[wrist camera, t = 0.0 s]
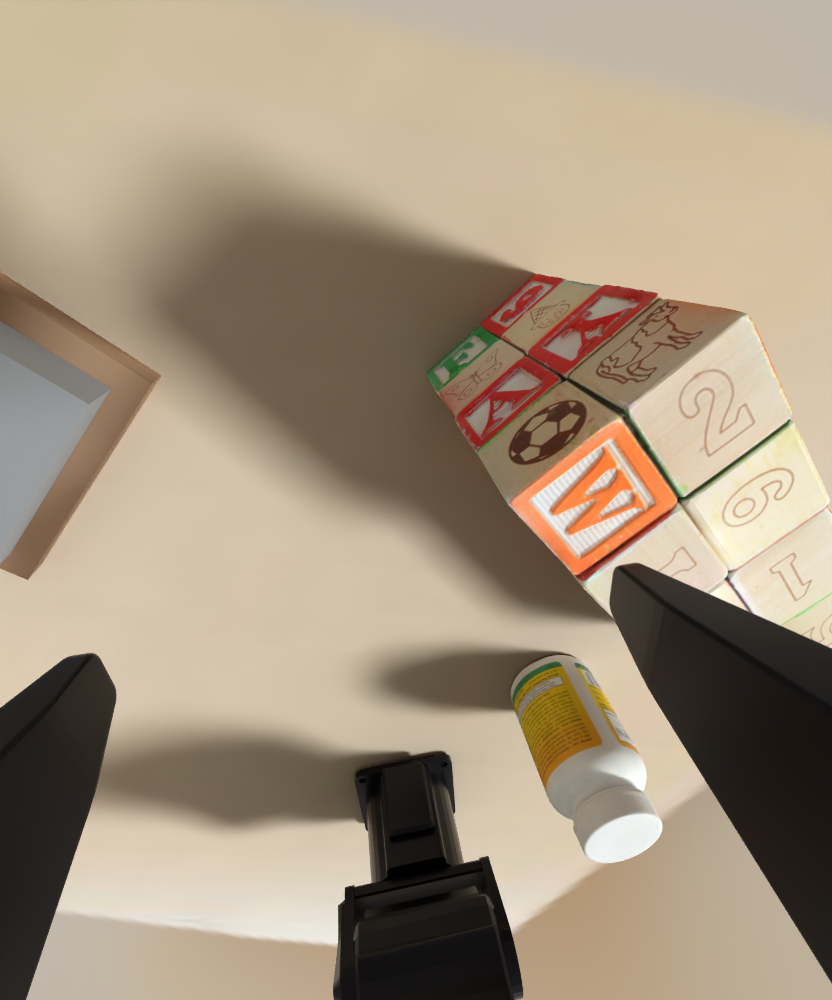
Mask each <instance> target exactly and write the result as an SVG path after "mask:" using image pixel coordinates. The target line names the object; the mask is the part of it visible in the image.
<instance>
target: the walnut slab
mask: <svg viewBox="0 0 832 1000" xmlns="http://www.w3.org/2000/svg"><path fill="white" fill-rule="evenodd" d="M0 321H1V322H3V323H4V324H6V325H8V326H9V327H11V328H13V329H14V330H16V331H18V332H19V333H21V334H22V335H24V336H26V337H27V338H29V339H31V340H32V341H34V342H36V343H37V344H39V345H40V346H42V347H44V348H45V349H47V350H49V351H50V352H52V353H54V354H55V355H57V356H59V357H60V358H62V359H63V360H65V361H67V362H68V363H70V364H72V365H73V366H75V367H77V368H78V369H80V370H81V371H83V372H85V373H86V374H88V375H90V376H91V377H93V378H95V379H96V380H98V381H99V382H101V383H103V384H104V385H106V386H108V387H109V388H111V390H110V392H109V393H108V395H107V397H106V398H105V400H104V402H103V403H102V405H101V406H100V408H99V410H98V411H97V413H96V415H95V416H94V418H93V420H92V421H91V423H90V424H89V426H88V428H87V429H86V431H85V433H84V434H83V436H82V438H81V439H80V441H79V443H78V444H77V446H76V447H75V449H74V451H73V452H72V454H71V456H70V457H69V459H68V461H67V462H66V464H65V465H64V467H63V469H62V470H61V472H60V474H59V475H58V477H57V479H56V480H55V482H54V483H53V485H52V487H51V488H50V490H49V492H48V493H47V495H46V497H45V498H44V500H43V501H42V503H41V505H40V506H39V508H38V510H37V511H36V513H35V515H34V516H33V518H32V519H31V521H30V523H29V524H28V526H27V528H26V529H25V531H24V533H23V534H22V536H21V537H20V539H19V541H18V542H17V544H16V546H15V547H14V549H13V551H12V552H11V554H10V555H9V556H8V557H7V558H6V559H5V560H4V561H3V562H2V563H1V564H0V568H1V569H3V570H5V571H8V572H10V573H13V574H15V575H17V576H20V577H22V578H24V579H27V580H28V579H29V578H30V577H31V575H32V574H33V573H34V572H35V571H36V570H37V569H38V567H39V566H40V565H41V564H42V563H43V561H44V559H45V558H46V556H47V555H48V553H49V552H50V550H51V548H52V547H53V545H54V544H55V542H56V541H57V539H58V537H59V536H60V534H61V533H62V531H63V530H64V528H65V526H66V525H67V523H68V522H69V520H70V519H71V517H72V515H73V514H74V512H75V511H76V509H77V507H78V506H79V504H80V503H81V501H82V500H83V498H84V496H85V495H86V493H87V492H88V490H89V489H90V487H91V485H92V484H93V482H94V481H95V479H96V478H97V476H98V474H99V473H100V471H101V470H102V468H103V467H104V465H105V463H106V462H107V460H108V459H109V457H110V456H111V454H112V452H113V451H114V449H115V448H116V446H117V445H118V443H119V441H120V440H121V438H122V437H123V435H124V434H125V432H126V430H127V429H128V427H129V426H130V424H131V423H132V421H133V419H134V418H135V416H136V415H137V413H138V412H139V410H140V408H141V407H142V405H143V404H144V402H145V401H146V399H147V397H148V396H149V394H150V393H151V391H152V389H153V388H154V386H155V385H156V383H157V382H158V380H159V378H160V377H161V375H160V374H158V373H157V372H155V371H153V370H152V369H150V368H149V367H147V366H146V365H144V364H143V363H141V362H139V361H138V360H136V359H135V358H133V357H132V356H130V355H129V354H127V353H125V352H124V351H122V350H121V349H119V348H118V347H116V346H115V345H113V344H111V343H110V342H108V341H107V340H105V339H104V338H102V337H101V336H99V335H97V334H96V333H94V332H93V331H91V330H90V329H88V328H87V327H85V326H83V325H82V324H80V323H79V322H77V321H76V320H74V319H73V318H71V317H69V316H68V315H66V314H65V313H63V312H62V311H60V310H59V309H57V308H55V307H54V306H52V305H51V304H49V303H48V302H46V301H45V300H43V299H41V298H40V297H38V296H37V295H35V294H34V293H32V292H31V291H29V290H27V289H26V288H24V287H23V286H21V285H20V284H18V283H17V282H15V281H13V280H12V279H10V278H9V277H7V276H6V275H4V274H3V273H1V272H0Z"/></svg>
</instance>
